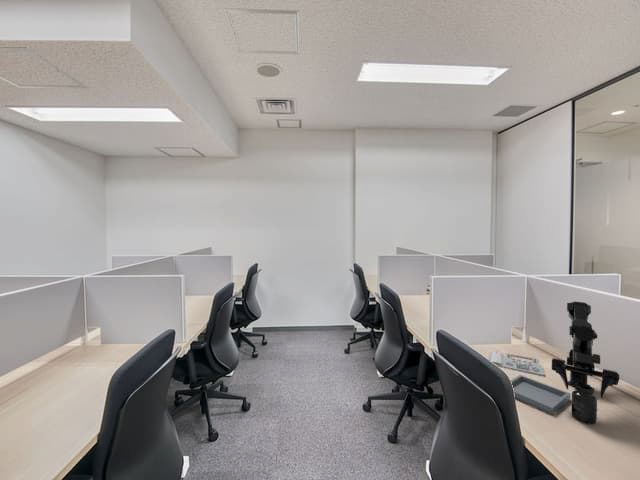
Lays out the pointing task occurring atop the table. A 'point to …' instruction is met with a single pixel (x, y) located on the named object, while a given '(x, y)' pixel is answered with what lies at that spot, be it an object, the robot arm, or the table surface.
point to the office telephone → (516, 363)
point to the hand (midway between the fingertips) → (584, 393)
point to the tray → (539, 394)
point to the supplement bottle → (584, 404)
